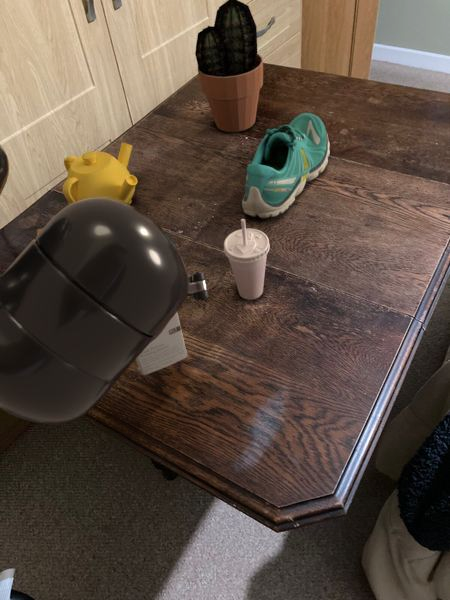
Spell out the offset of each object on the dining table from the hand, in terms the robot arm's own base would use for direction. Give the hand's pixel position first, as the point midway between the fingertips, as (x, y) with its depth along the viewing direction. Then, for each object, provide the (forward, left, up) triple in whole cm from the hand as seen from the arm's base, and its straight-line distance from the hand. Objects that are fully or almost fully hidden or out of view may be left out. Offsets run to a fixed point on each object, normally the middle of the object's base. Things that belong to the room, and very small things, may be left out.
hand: (144, 298), depth 56 cm
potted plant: (+23, +64, -15) cm, 69 cm away
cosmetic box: (0, -2, -9) cm, 9 cm away
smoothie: (+14, +12, -15) cm, 24 cm away
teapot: (-6, +42, -15) cm, 44 cm away
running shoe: (+28, +38, -15) cm, 49 cm away
